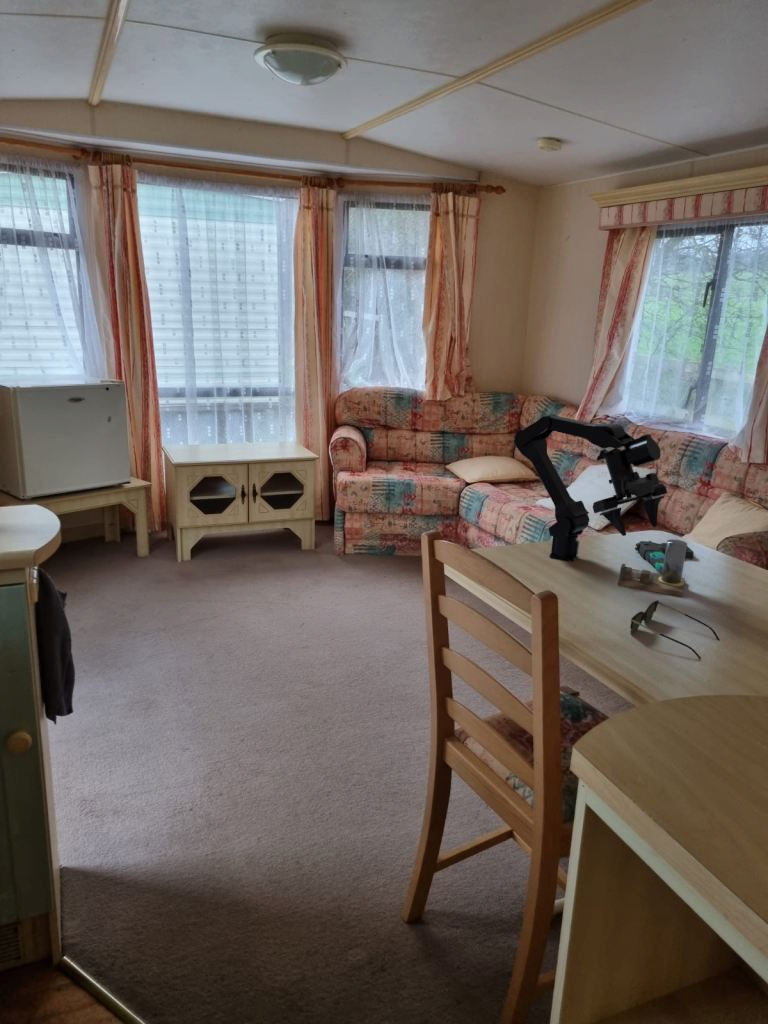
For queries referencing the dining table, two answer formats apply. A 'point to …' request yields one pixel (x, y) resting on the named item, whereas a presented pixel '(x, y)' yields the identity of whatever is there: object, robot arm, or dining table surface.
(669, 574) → the silver metal cylinder
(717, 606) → the dining table surface
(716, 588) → the dining table surface
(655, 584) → the door lock
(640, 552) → the handgun
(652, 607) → the sunglasses
